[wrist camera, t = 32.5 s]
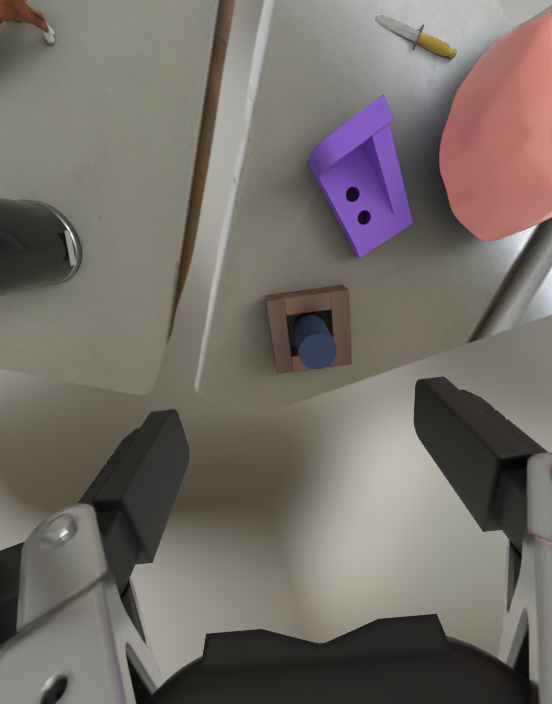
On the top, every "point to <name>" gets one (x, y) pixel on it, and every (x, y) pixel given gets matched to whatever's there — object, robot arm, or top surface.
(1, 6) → the bull figurine
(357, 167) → the bracket
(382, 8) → the top surface
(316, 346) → the pad post
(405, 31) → the dagger
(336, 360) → the base frame
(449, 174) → the cell model
